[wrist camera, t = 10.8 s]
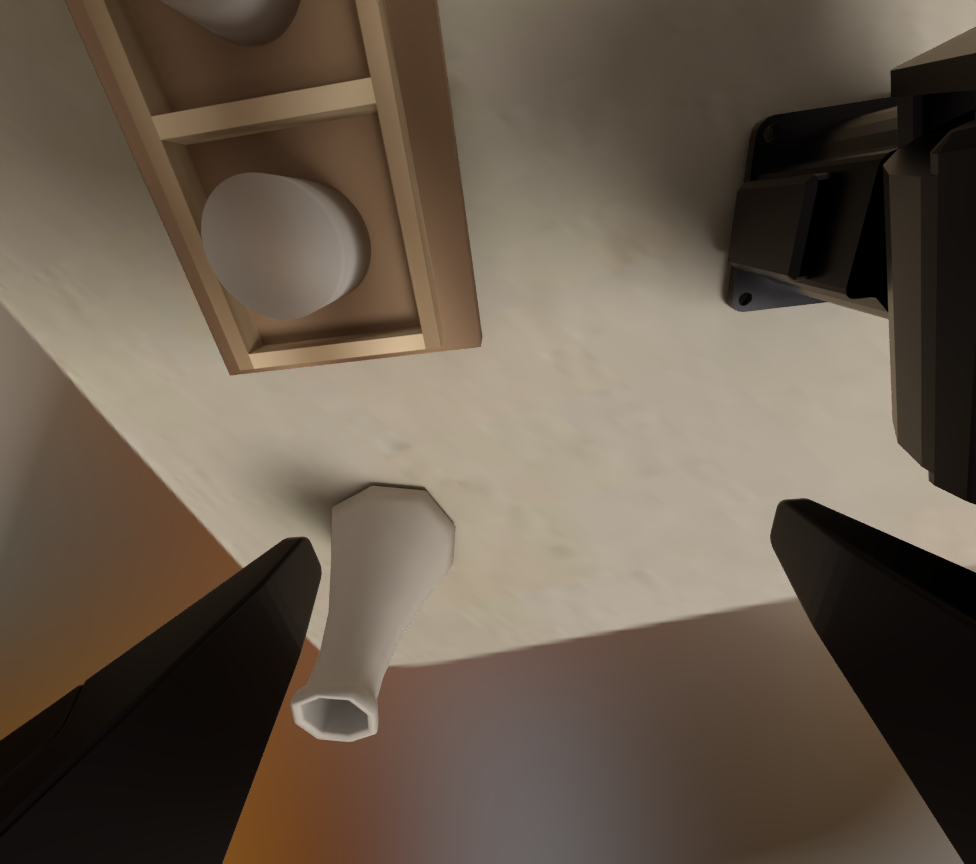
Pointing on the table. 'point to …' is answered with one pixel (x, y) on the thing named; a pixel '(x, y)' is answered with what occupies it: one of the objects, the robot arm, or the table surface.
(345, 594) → the flask
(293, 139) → the socket tray
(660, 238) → the table surface
